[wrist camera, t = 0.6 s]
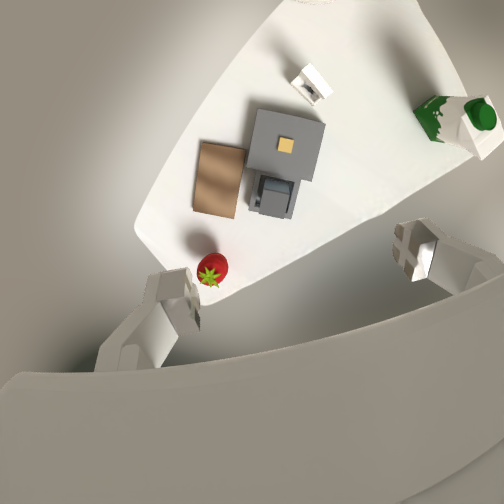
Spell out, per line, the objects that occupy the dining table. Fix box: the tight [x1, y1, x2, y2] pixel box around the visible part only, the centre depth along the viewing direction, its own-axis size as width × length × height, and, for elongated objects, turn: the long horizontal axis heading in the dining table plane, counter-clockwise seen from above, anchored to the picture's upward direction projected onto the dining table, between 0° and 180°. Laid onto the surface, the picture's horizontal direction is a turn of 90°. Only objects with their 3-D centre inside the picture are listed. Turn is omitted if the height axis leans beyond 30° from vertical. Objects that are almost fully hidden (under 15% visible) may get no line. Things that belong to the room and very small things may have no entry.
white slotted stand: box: [290, 63, 333, 106], centre depth 41 cm, size 4×10×9 cm, turn 46°
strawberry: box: [197, 253, 228, 288], centre depth 58 cm, size 6×8×10 cm
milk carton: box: [413, 95, 504, 161], centre depth 35 cm, size 9×9×20 cm
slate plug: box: [259, 178, 290, 219], centre depth 51 cm, size 4×4×8 cm
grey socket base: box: [246, 109, 326, 219], centre depth 50 cm, size 19×12×4 cm, turn 169°
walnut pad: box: [193, 143, 246, 219], centre depth 54 cm, size 14×8×1 cm, turn 169°
